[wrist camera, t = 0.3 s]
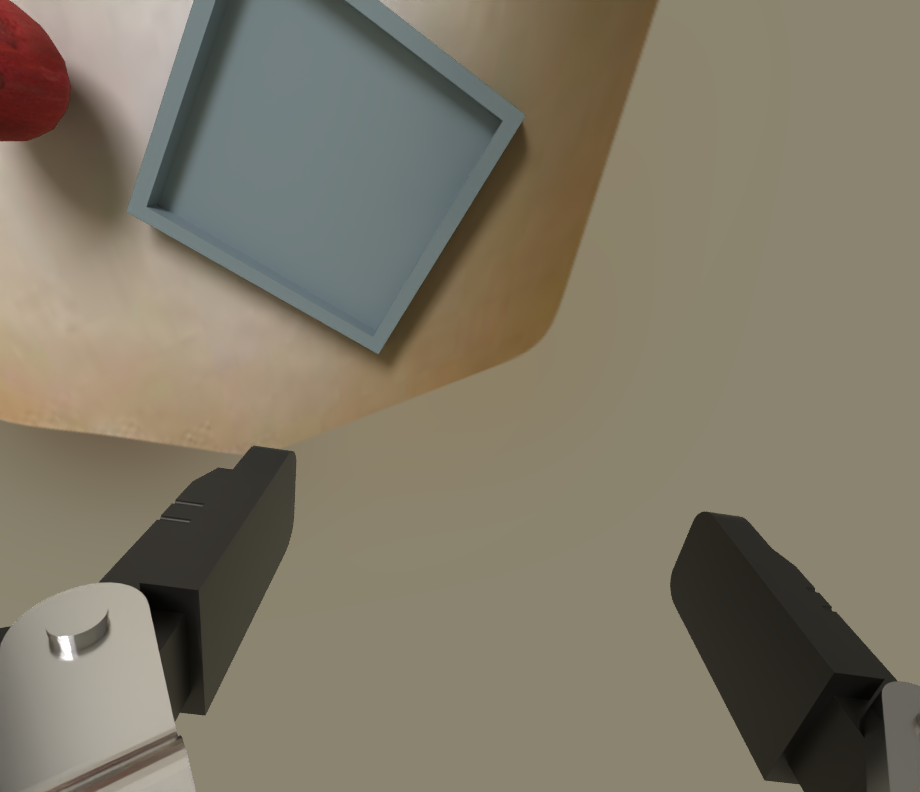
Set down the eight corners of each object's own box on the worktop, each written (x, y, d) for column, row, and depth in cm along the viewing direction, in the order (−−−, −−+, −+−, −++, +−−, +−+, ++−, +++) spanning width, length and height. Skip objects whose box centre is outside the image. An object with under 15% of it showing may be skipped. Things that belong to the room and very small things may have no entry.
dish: (247, -97, 22) (230, -116, 20) (521, 116, 26) (525, 115, 24) (145, 207, 27) (126, 211, 26) (382, 343, 31) (378, 354, 30)
